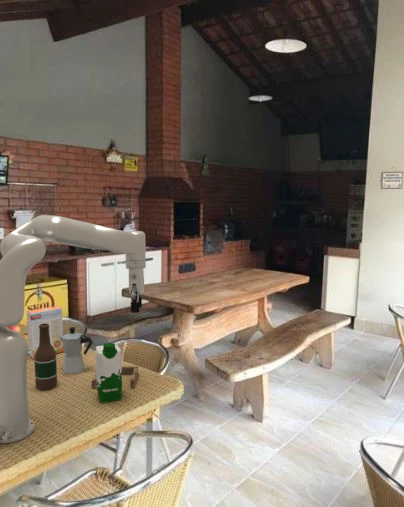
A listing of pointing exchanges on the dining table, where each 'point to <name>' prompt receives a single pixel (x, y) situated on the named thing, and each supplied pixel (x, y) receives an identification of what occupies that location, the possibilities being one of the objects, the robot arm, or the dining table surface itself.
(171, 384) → the dining table surface
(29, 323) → the cracker box
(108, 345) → the soya milk
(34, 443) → the dining table surface
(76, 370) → the coffee maker
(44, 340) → the beer bottle
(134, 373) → the frame
